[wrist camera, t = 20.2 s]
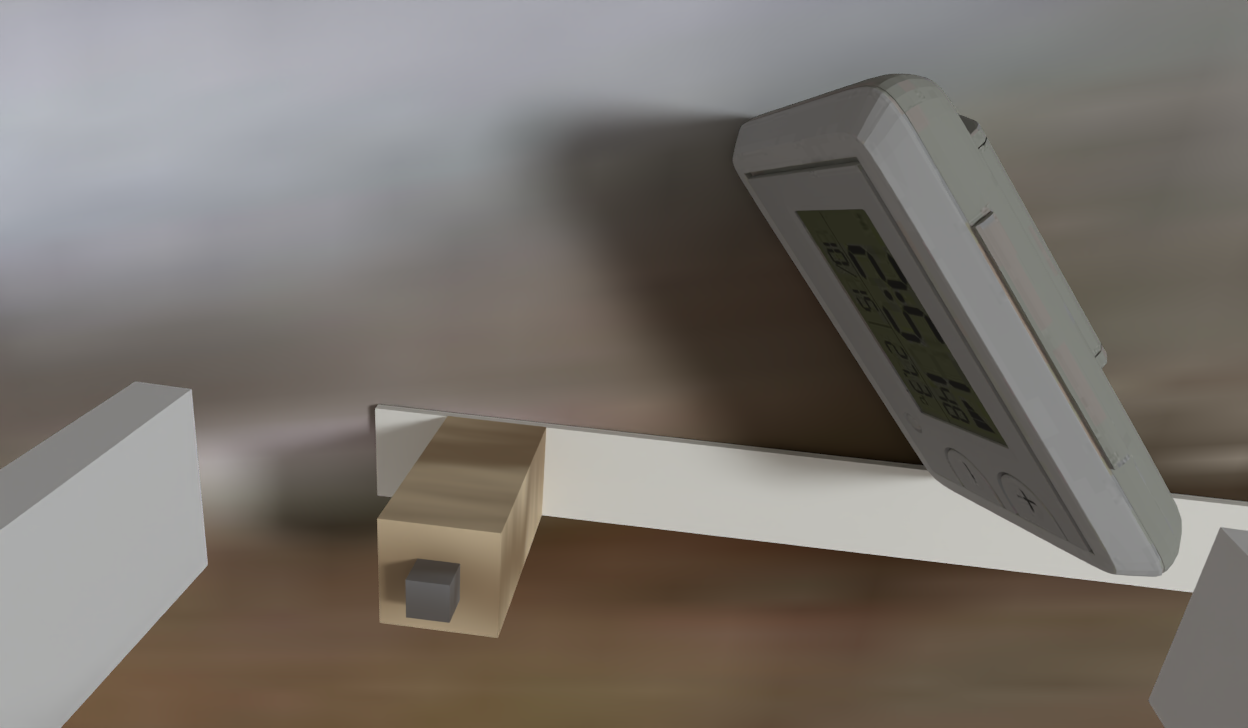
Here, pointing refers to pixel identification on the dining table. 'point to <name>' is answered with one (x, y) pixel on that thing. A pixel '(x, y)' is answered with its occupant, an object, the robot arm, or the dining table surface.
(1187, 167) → the dining table surface
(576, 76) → the dining table surface
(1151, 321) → the dining table surface
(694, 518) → the lath
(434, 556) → the tan wooden block
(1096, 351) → the digital clock
